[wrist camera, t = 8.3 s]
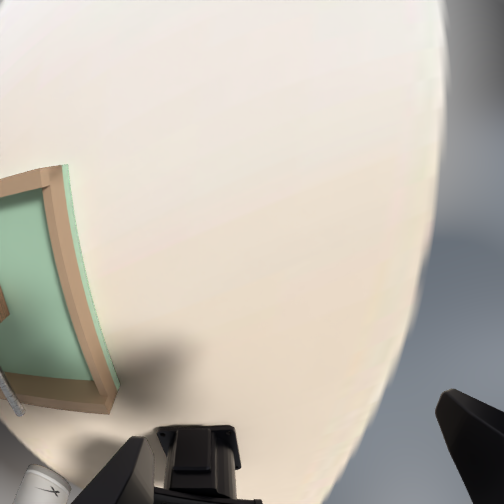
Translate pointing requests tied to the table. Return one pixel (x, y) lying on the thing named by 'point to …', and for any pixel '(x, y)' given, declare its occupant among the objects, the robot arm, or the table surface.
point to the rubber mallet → (0, 378)
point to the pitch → (49, 300)
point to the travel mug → (42, 487)
